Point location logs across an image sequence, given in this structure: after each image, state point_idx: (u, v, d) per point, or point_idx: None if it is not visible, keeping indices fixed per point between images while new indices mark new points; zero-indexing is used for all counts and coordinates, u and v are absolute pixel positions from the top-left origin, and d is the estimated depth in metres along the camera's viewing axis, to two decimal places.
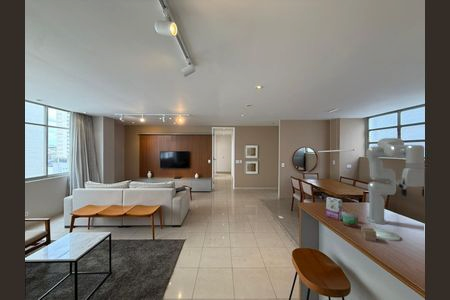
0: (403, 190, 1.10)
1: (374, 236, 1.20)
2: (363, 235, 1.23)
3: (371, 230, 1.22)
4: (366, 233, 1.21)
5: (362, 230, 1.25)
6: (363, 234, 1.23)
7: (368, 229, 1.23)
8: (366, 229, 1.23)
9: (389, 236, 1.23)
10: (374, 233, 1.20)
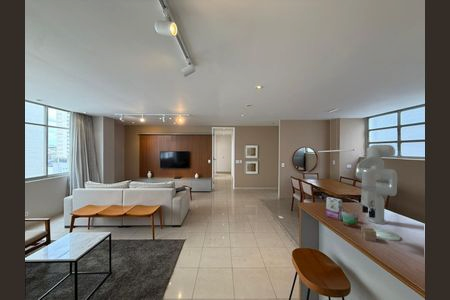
0: (373, 212, 1.17)
1: (374, 236, 1.20)
2: (363, 235, 1.23)
3: (371, 230, 1.22)
4: (366, 233, 1.21)
5: (362, 230, 1.25)
6: (363, 234, 1.23)
7: (368, 229, 1.23)
8: (366, 229, 1.23)
9: (389, 236, 1.23)
10: (374, 233, 1.20)
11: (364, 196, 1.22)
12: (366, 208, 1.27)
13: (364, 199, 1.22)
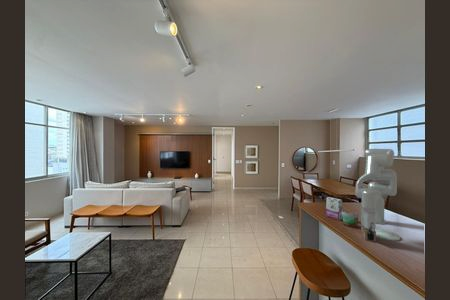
0: (372, 235, 1.19)
1: (374, 236, 1.20)
2: (363, 235, 1.23)
3: None
4: (366, 233, 1.21)
5: (362, 230, 1.25)
6: (363, 234, 1.23)
7: None
8: (366, 229, 1.23)
9: (389, 236, 1.23)
10: (374, 233, 1.20)
11: (364, 217, 1.23)
12: None
13: (364, 220, 1.23)
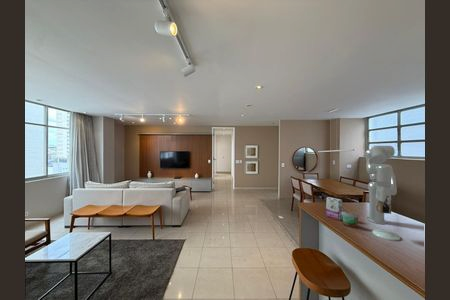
0: (387, 208, 1.23)
1: (389, 209, 1.23)
2: (378, 208, 1.27)
3: None
4: (381, 206, 1.25)
5: (377, 204, 1.28)
6: (378, 207, 1.27)
7: None
8: (381, 203, 1.27)
9: (389, 236, 1.23)
10: None
11: (379, 191, 1.26)
12: None
13: (379, 194, 1.26)
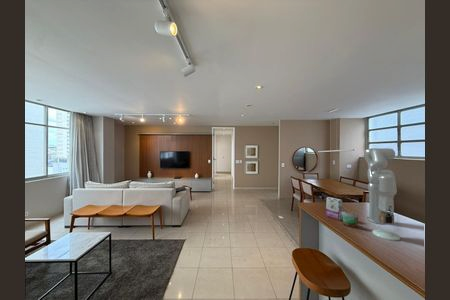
0: (390, 218, 1.23)
1: (392, 219, 1.23)
2: (381, 219, 1.27)
3: (389, 213, 1.25)
4: (384, 216, 1.25)
5: (380, 214, 1.29)
6: (381, 218, 1.27)
7: (385, 213, 1.26)
8: (384, 213, 1.27)
9: (389, 236, 1.23)
10: (392, 216, 1.23)
11: (382, 201, 1.26)
12: None
13: (382, 204, 1.26)
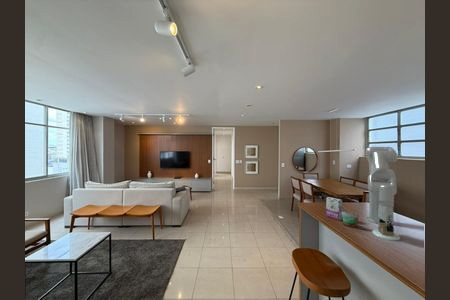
0: (391, 227, 1.22)
1: None
2: (381, 230, 1.27)
3: None
4: (384, 228, 1.25)
5: (379, 225, 1.29)
6: (381, 229, 1.27)
7: (385, 225, 1.27)
8: (384, 224, 1.27)
9: (389, 236, 1.23)
10: None
11: (382, 210, 1.27)
12: (383, 221, 1.31)
13: (382, 213, 1.27)
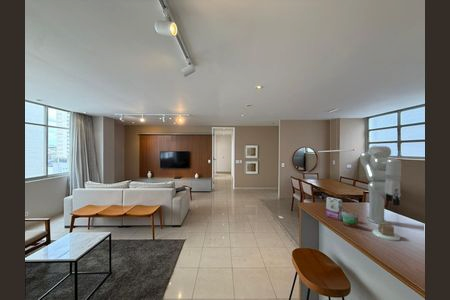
0: None
1: (392, 231, 1.24)
2: (381, 230, 1.27)
3: (389, 225, 1.26)
4: (384, 228, 1.25)
5: (379, 225, 1.29)
6: (381, 229, 1.27)
7: (385, 225, 1.27)
8: (384, 224, 1.27)
9: (389, 236, 1.23)
10: (392, 228, 1.24)
11: (388, 185, 1.27)
12: (390, 196, 1.32)
13: (388, 188, 1.27)
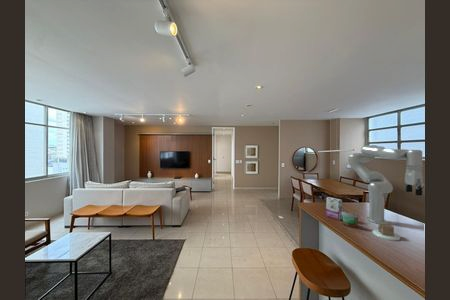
0: (421, 190, 1.22)
1: (392, 231, 1.24)
2: (381, 230, 1.27)
3: (389, 225, 1.26)
4: (384, 228, 1.25)
5: (379, 225, 1.29)
6: (381, 229, 1.27)
7: (385, 225, 1.27)
8: (384, 224, 1.27)
9: (389, 236, 1.23)
10: (392, 228, 1.24)
11: (410, 175, 1.27)
12: (410, 187, 1.32)
13: (410, 178, 1.27)
